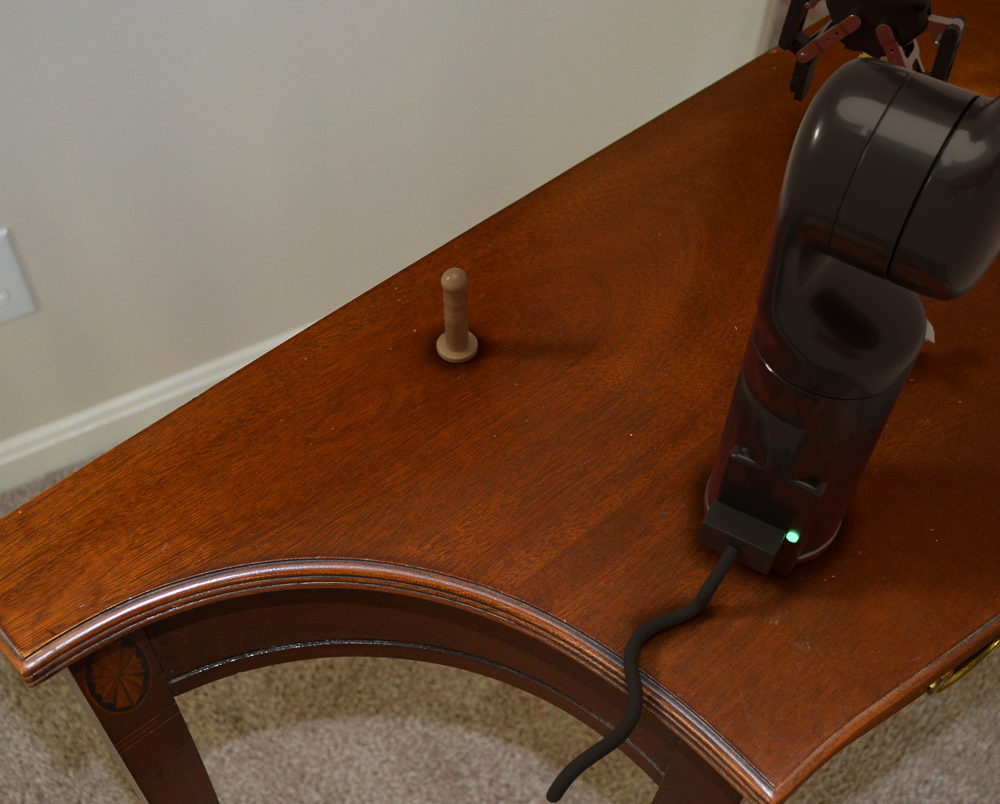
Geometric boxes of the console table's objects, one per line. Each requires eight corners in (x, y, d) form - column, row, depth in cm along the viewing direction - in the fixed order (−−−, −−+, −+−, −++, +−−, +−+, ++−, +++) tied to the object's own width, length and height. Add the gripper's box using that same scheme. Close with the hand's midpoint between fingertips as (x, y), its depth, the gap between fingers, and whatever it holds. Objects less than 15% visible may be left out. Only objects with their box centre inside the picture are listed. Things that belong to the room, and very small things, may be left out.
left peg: (464, 369, 84) (461, 293, 77) (429, 353, 85) (423, 276, 78) (485, 342, 85) (484, 266, 79) (450, 327, 86) (447, 250, 80)
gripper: (798, -78, 83) (755, 108, 97) (982, -26, 79) (911, 160, 93) (831, -118, 87) (786, 66, 100) (1009, -71, 83) (937, 114, 96)
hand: (846, 111), depth 96 cm, fingers open, 8 cm apart
